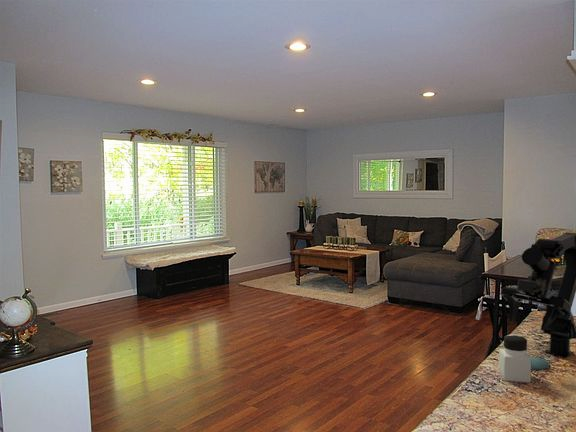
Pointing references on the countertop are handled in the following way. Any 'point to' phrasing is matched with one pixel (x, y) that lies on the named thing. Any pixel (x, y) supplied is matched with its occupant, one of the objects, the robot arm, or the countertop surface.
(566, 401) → the countertop surface
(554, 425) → the countertop surface
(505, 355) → the medicine bottle
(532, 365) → the coaster
